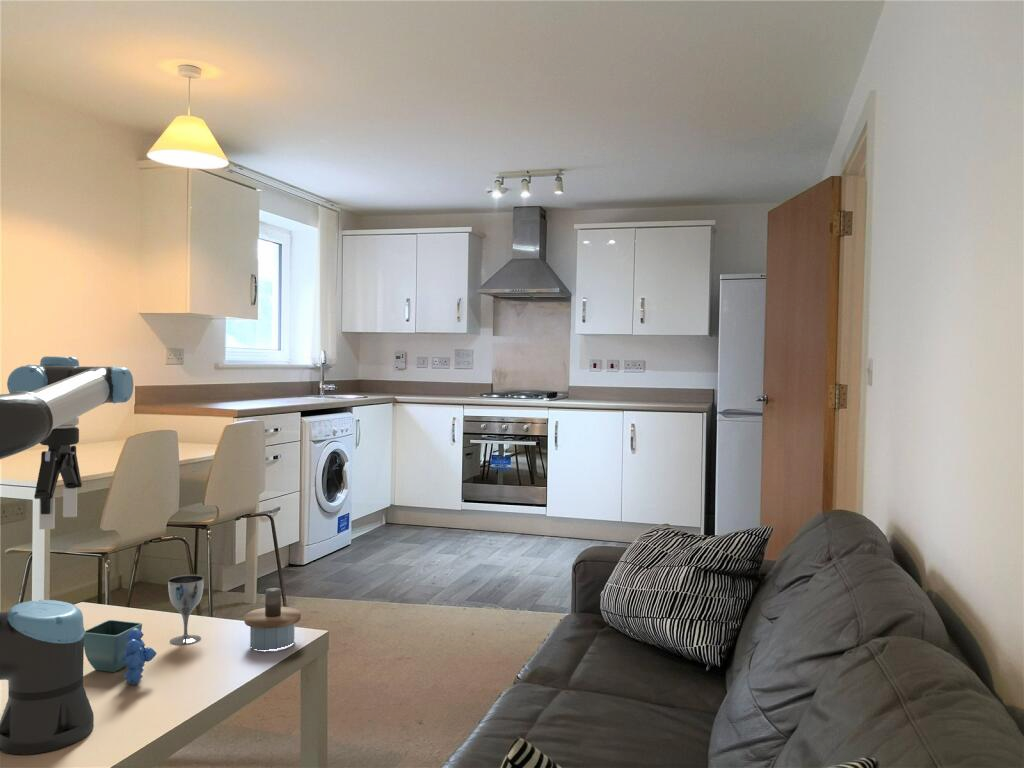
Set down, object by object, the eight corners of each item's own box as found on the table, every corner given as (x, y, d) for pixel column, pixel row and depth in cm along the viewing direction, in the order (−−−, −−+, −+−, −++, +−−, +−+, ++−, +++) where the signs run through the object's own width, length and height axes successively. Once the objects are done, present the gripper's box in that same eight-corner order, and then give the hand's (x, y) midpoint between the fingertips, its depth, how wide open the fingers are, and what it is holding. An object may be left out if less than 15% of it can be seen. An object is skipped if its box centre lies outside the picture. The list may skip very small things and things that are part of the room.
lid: (297, 627, 185) (298, 597, 184) (239, 629, 183) (240, 598, 182) (303, 610, 197) (303, 581, 197) (249, 612, 195) (249, 583, 195)
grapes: (155, 692, 162) (155, 634, 161) (118, 696, 159) (118, 637, 159) (157, 671, 172) (158, 616, 172) (123, 675, 170) (124, 619, 170)
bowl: (292, 650, 186) (292, 625, 186) (248, 652, 184) (248, 627, 184) (295, 636, 196) (296, 612, 196) (253, 638, 194) (253, 614, 194)
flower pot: (116, 677, 169) (116, 635, 169) (80, 673, 171) (80, 632, 170) (143, 662, 177) (143, 622, 177) (108, 658, 179) (109, 619, 179)
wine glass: (197, 632, 198) (198, 572, 197) (207, 641, 191) (207, 580, 191) (164, 638, 193) (164, 577, 192) (172, 648, 186) (173, 585, 186)
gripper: (57, 431, 162) (56, 534, 162) (96, 422, 186) (95, 511, 187) (16, 431, 161) (16, 534, 161) (61, 422, 185) (61, 512, 185)
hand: (59, 522), depth 174 cm, fingers open, 13 cm apart
